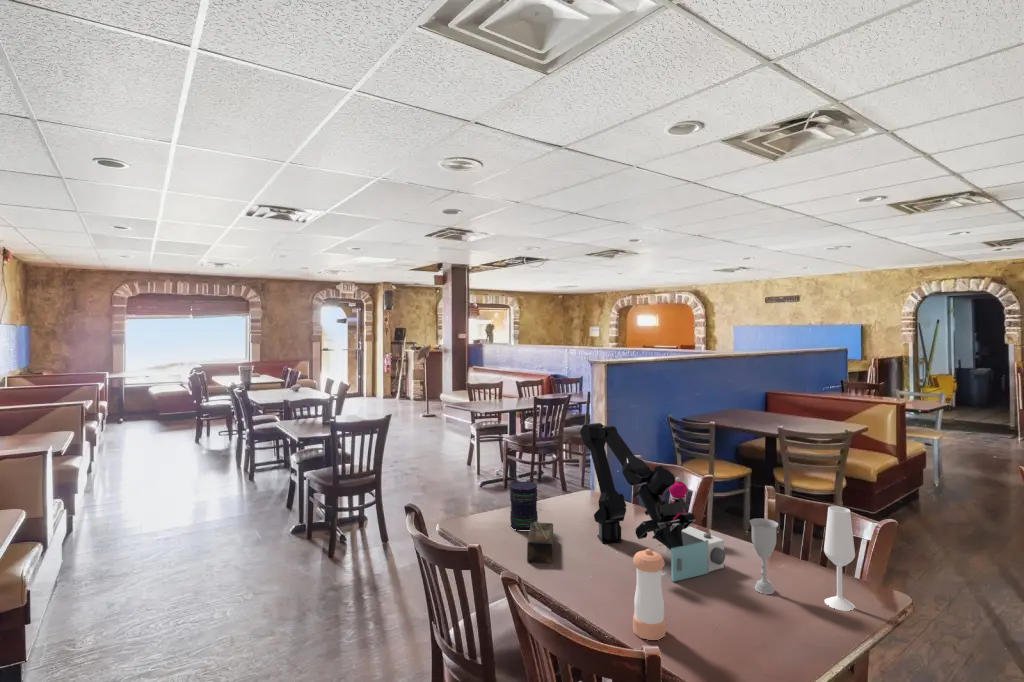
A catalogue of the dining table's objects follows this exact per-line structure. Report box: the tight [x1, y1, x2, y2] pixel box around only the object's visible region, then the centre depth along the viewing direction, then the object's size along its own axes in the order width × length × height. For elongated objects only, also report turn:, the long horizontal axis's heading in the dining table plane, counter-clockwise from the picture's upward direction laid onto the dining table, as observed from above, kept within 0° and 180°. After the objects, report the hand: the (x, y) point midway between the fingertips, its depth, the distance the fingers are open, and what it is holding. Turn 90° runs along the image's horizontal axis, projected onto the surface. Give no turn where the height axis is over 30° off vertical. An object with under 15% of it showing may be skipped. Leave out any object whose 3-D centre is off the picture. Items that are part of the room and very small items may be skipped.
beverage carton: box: [526, 521, 554, 564], centre depth 171 cm, size 8×19×7 cm, turn 175°
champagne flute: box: [823, 505, 856, 612], centre depth 135 cm, size 7×7×24 cm
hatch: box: [670, 541, 708, 583], centre depth 151 cm, size 12×2×9 cm, turn 113°
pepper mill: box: [668, 476, 688, 520], centre depth 182 cm, size 7×7×20 cm
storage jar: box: [509, 481, 539, 530], centre depth 193 cm, size 10×10×15 cm
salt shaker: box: [632, 548, 667, 639], centre depth 124 cm, size 7×7×19 cm
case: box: [665, 525, 726, 574], centre depth 162 cm, size 18×7×9 cm, turn 28°
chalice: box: [749, 517, 779, 595], centre depth 143 cm, size 7×7×18 cm
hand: (680, 553), depth 151 cm, fingers closed, pressing on hatch
